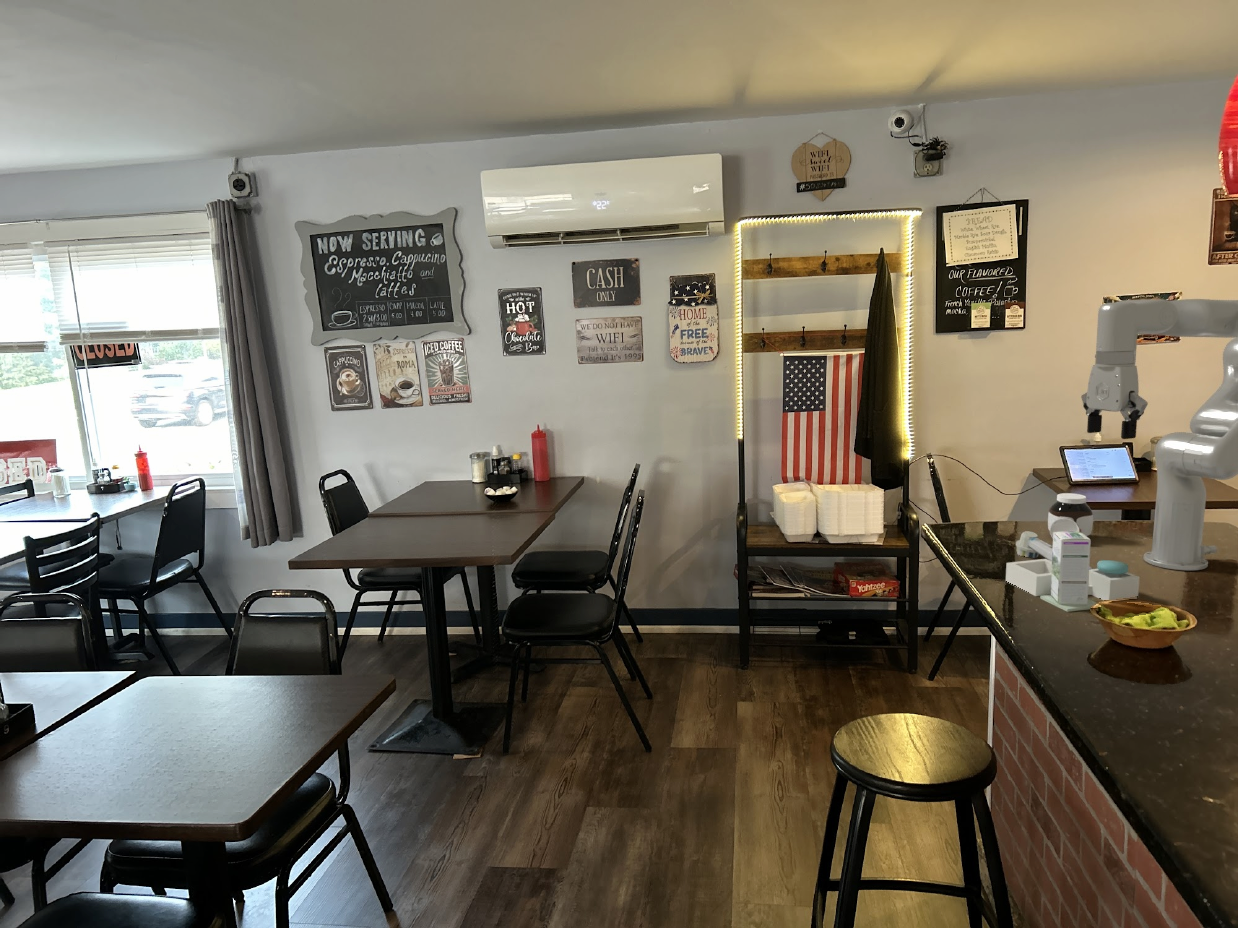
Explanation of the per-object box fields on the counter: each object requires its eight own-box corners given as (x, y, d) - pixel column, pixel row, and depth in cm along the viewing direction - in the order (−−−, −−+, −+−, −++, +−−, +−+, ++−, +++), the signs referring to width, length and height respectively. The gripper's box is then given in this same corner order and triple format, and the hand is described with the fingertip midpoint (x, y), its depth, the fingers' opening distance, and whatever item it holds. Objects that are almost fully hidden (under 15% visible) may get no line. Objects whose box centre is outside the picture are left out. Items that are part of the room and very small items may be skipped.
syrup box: (1088, 605, 161) (1093, 538, 158) (1057, 604, 162) (1061, 538, 159) (1078, 596, 166) (1083, 531, 164) (1048, 595, 168) (1052, 530, 165)
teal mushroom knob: (1111, 586, 170) (1113, 559, 169) (1132, 594, 165) (1134, 566, 164) (1089, 588, 170) (1091, 561, 168) (1109, 597, 164) (1111, 569, 163)
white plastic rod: (1080, 569, 174) (1013, 526, 197) (1075, 595, 176) (1010, 550, 199) (1102, 567, 174) (1032, 524, 198) (1097, 593, 176) (1029, 548, 200)
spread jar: (1081, 533, 212) (1084, 492, 210) (1102, 545, 201) (1105, 502, 199) (1035, 534, 214) (1038, 493, 212) (1054, 546, 203) (1056, 503, 201)
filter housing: (1076, 573, 182) (1078, 553, 181) (1137, 599, 165) (1139, 576, 164) (1005, 581, 179) (1006, 560, 178) (1060, 608, 162) (1061, 585, 161)
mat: (1073, 594, 169) (1073, 592, 169) (1101, 607, 161) (1101, 604, 161) (1040, 598, 167) (1040, 595, 167) (1067, 611, 160) (1067, 608, 160)
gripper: (1071, 358, 179) (1067, 431, 182) (1132, 362, 162) (1127, 442, 165) (1099, 356, 180) (1095, 429, 183) (1163, 359, 163) (1157, 439, 166)
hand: (1110, 435), depth 174 cm, fingers open, 9 cm apart
